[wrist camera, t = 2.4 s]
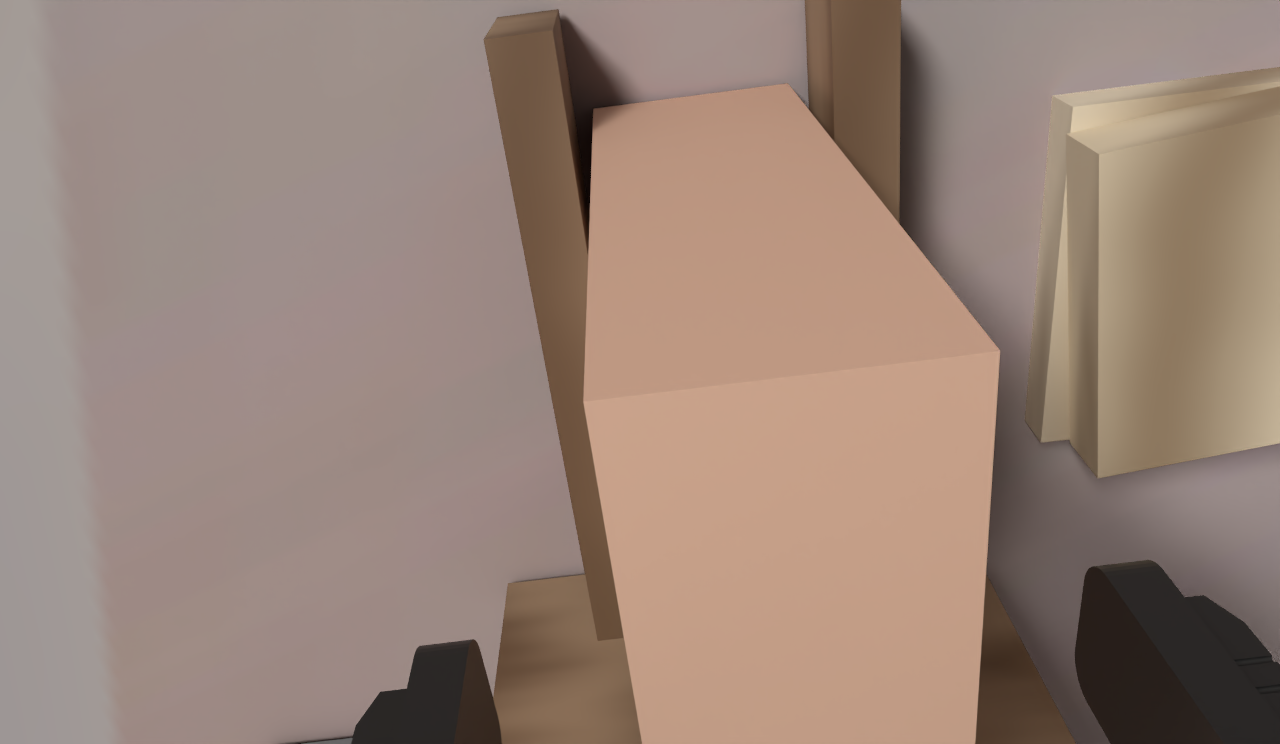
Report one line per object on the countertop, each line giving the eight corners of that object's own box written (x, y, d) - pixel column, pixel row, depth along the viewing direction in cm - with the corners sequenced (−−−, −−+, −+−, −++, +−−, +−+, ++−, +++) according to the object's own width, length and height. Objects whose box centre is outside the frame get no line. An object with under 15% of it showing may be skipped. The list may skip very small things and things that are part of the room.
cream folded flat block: (1280, 60, 21) (1326, 75, 19) (1217, 387, 24) (1252, 418, 23) (1043, 90, 21) (1073, 107, 19) (1017, 410, 24) (1040, 442, 23)
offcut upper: (1300, 81, 19) (1351, 98, 18) (1267, 403, 23) (1308, 437, 22) (1066, 133, 20) (1099, 154, 18) (1069, 442, 23) (1097, 478, 22)
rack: (990, -48, 19) (1225, 13, 12) (961, 565, 26) (1095, 834, 19) (376, 33, 19) (243, 142, 12) (516, 617, 26) (484, 899, 19)
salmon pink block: (787, 83, 20) (1000, 350, 9) (806, 484, 25) (960, 963, 14) (593, 108, 20) (583, 401, 9) (649, 502, 25) (684, 993, 14)
